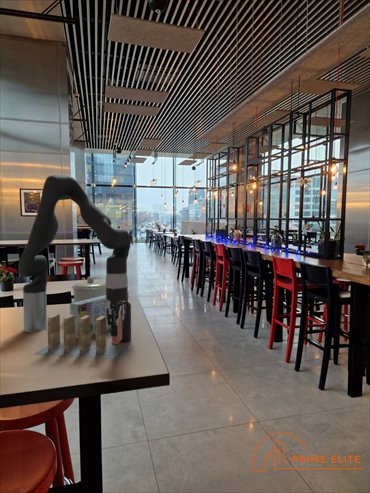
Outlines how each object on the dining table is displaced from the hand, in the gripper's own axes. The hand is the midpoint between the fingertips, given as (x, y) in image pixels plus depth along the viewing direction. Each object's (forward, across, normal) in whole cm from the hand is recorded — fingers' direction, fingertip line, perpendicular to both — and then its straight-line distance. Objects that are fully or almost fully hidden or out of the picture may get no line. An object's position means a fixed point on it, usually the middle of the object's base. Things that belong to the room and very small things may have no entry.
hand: (117, 333), depth 111 cm
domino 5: (+3, 0, 0) cm, 3 cm away
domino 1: (+7, 0, -24) cm, 25 cm away
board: (+8, 0, -12) cm, 14 cm away
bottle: (+8, -12, -2) cm, 15 cm away
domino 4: (+7, 0, -6) cm, 9 cm away
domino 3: (+7, 0, -12) cm, 14 cm away
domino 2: (+7, 0, -18) cm, 19 cm away
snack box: (+8, -22, -18) cm, 30 cm away
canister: (+8, -46, -31) cm, 56 cm away
